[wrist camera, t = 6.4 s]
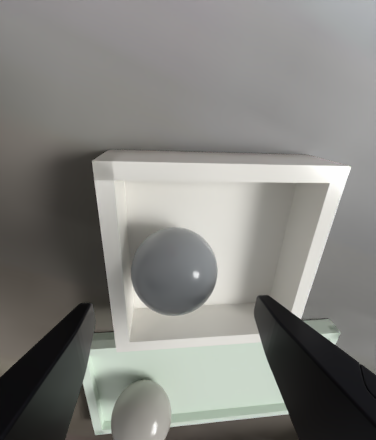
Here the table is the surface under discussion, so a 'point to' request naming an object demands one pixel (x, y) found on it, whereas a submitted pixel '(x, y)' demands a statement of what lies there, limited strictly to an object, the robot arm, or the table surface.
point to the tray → (189, 379)
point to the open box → (215, 235)
